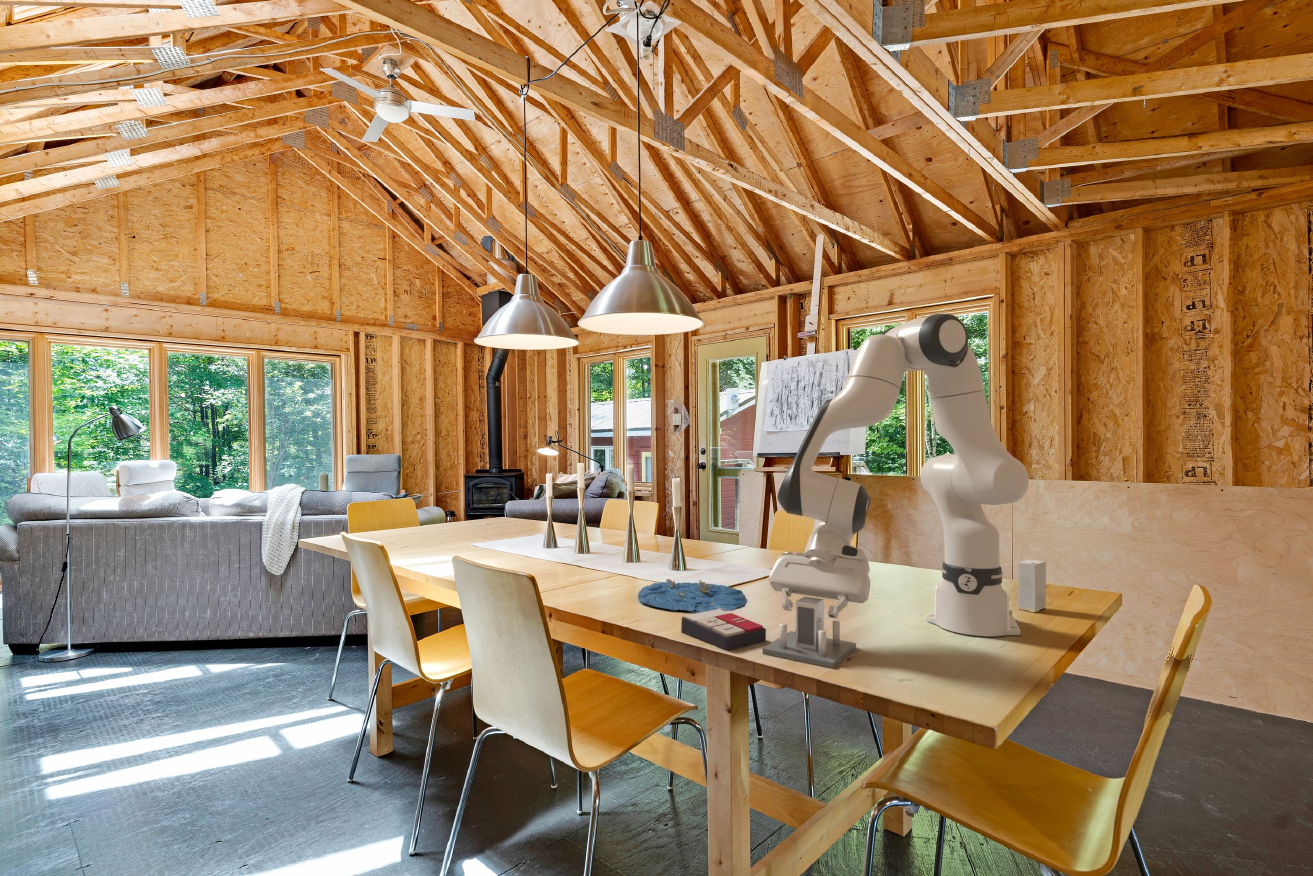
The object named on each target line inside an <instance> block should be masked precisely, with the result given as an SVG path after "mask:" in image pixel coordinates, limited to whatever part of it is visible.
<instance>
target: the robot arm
mask: <svg viewBox="0 0 1313 876" xmlns="http://www.w3.org/2000/svg"><path fill="white" fill-rule="evenodd" d="M915 371H916V372H917V371H923V372H924V374H925V375H926V377H927V379H928V391H929V398H930V405H931V411H932V416H933V421H934V422H933V423H934V428H935V430H936V432H937V434H938V435H939V436H940V437H941V438H943V439H944V440H946V441H947V443H948V444H949V445H950V446H951V448H952V451H954V453H945V454H941V455H937V456H935V457H934V456H933V457H930V458H928V459H927V460H926V461H925V462H924V464H923V465H922V467H921V470H920V483H921V486H922V488H923V489H924V491H925V492H926V493H928V495H929V496H930V497H931V499H932V500H933V502H934V504H935V507H936V509H937V512H938V514H939V517H940V520H941V521H940V522H941V524H942V525H941V526H942V528H943V529H942V530H943V531H942V532H943V547H944V548H943V552H944V560H943V561H942V567H941V573H942V574H941V575H942V578H943V579H942V581H941V582H940V583H939V584H937V585H935V591H934V612H933V613H931V614H929V615H927V616H926V621H927V622H929V623H930V624H933V625H936V626H938V627H940V628H942V629H944V630H947V631H950V632H954V633H958V634H962V635H967V636H968V635H970V636H977V637H1001V636H1020V635H1021V634H1022V633H1021V629H1020V627H1019V625H1018V622H1017V621H1016V619H1015V617H1014V615H1013V611H1012V609H1010V594H1008V593H1007V591H1006V590H1005V589H1004V588H1003V586H1002V583H1003V571H1002V570H1003V569H1002V566H1000V534H999V532H1000V531H999V530H998V529H997V527H996V526H995V525H994V524H993V523H992V522H991V521H990V520H989V519H988V518H987V516H986V514H985V512H984V510H983V506H982V505H989V506H998V505H1007V504H1013V503H1016V502H1018V501H1020V500H1022V498H1023V497H1024V496H1025V494H1026V493H1027V491H1028V489H1029V482H1030V481H1029V480H1030V479H1029V473H1028V470H1027V468H1026V467H1025V465H1024V464H1023V463H1022V462H1021V461H1020V460H1018V459H1017V458H1016V457H1014V456H1013V455H1012V454H1011V453H1010V452H1009V451H1008V450H1007V449H1006V448H1005V446H1004V445H1003V444H1002V441H1001V440H1000V438H999V437H998V435H997V433H996V432H995V429H994V427H993V424H992V420H991V417H990V412H989V407H988V402H987V396H986V391H985V385H984V380H983V376H982V373H981V369H980V365H979V363H978V360H977V357H976V355H975V353H974V351H973V349H971V348H970V347H969V336H968V331H967V329H966V326H965V325H964V323H963V322H962V320H961V319H960V318H959V317H958V316H956V315H954V314H952V313H951V314H950V313H935V314H931V315H929V316H922V317H918V318H914V319H911V320H908V321H906V322H904V323H902V324H899V325H897V326H892V327H890V328H888V329H886V330H884V331H883V332H881V333H880V334H873V335H870V336H868V337H866V338H865V339H864V340H863V341H862V342H861V344H860V346H859V348H858V350H857V352H856V354H855V355H854V358H853V360H852V363H851V366H850V368H849V371H848V373H847V374H848V375H847V377H846V381H845V384H844V386H843V387H842V388H841V390H840V391H839V393H838V394H836V396H835V397H833V398H829V399H826V400H825V401H824V403H822V405H821V406H820V408H819V410H818V411H817V413H816V415H815V417H814V418H813V420H812V423H811V424H810V426H809V428H808V430H807V432H806V435H805V436H804V437H803V440H802V442H801V444H800V446H799V449H798V450H797V452H796V454H795V456H794V458H793V461H792V462H791V464H790V465H789V468H788V469H787V470H786V472H785V474H784V475H783V477H782V478H781V480H780V481H779V482H780V483H779V485H778V489H777V497H776V499H777V501H778V503H779V505H780V507H781V508H782V509H783V510H784V511H785V512H786V513H787V514H788V515H789V514H790V515H794V516H799V517H807V518H810V519H812V520H814V522H813V530H812V532H811V533H810V534H809V537H808V539H807V543H806V547H805V549H804V552H792V551H785V552H784V553H781V554H778V556H777V557H776V560H775V563H774V565H773V567H772V569H771V572H770V573H769V575H768V581H769V584H770V586H771V587H772V589H773V591H775V592H780V593H782V596H783V601H782V606H781V607H782V609H783V611H789V612H792V610H793V607H794V603H793V600H792V599H790V598H791V597H792V595H793V594H795V595H801V596H806V597H813V598H820V599H828V600H836V601H837V602H836V603H835V604H834V605H829V607H828V610H827V615H828V617H829V618H832V619H838V618H839V614H840V612H841V611H842V610H844V609H845V608H846V607H847V606H848V604H849V602H850V603H856V604H864V603H865V602H867V601H868V600H869V596H870V591H871V590H870V589H871V579H870V575H869V574H870V570H871V569H870V564H869V561H868V558H867V556H866V553H865V552H864V550H862V549H860V548H858V547H855V546H853V545H851V542H852V540H853V538H855V537H854V536H855V534H857V533H859V532H860V531H861V530H862V529H864V527H865V524H866V523H865V522H866V516H867V513H868V511H869V507H870V504H871V497H870V495H869V493H868V492H867V490H866V488H865V487H864V486H863V485H862V484H860V483H857V482H854V481H851V480H847V479H843V478H838V477H834V476H830V475H828V474H827V475H826V474H824V473H820V472H816V471H814V470H813V466H814V464H815V461H816V460H817V458H818V455H819V453H820V452H821V450H822V448H823V445H824V444H825V441H826V439H827V438H828V437H829V436H831V435H832V434H833V433H836V432H838V431H843V430H847V429H856V428H858V429H859V428H866V427H870V426H873V425H877V424H879V423H881V422H883V421H885V420H886V419H887V418H888V417H890V415H891V414H892V413H893V410H894V408H895V406H896V404H897V401H898V397H899V396H900V391H901V388H902V384H903V378H904V375H905V373H906V372H915Z"/></svg>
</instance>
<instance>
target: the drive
mask: <svg viewBox="0 0 1313 876" xmlns="http://www.w3.org/2000/svg"><path fill="white" fill-rule="evenodd" d="M824 599H825V598H819V597H812V596H803V597H802V598H799V599H797V600H795V612H796V613H795V615H796V647H799V648H805V649H810V650H815V651H816V650H817V649H819V630H824V631H825V613H824V612H825V608H824V607H825V602H824V601H825V600H824Z"/></svg>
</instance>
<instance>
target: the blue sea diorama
mask: <svg viewBox="0 0 1313 876" xmlns="http://www.w3.org/2000/svg"><path fill="white" fill-rule="evenodd" d="M637 598H638V599H637V600H639V602H641V603H642V604H644V605H647V606H651V607H654V608H660V609H664V610H670V611H678V610H681V611H687V612H689V613H691V614H695V613H701V612H706V611H711V610H716V609H721V610H723V611H726V612H732V611H734V610H735V609H737V608H738V607H739V608H740V607H742V606H745V605H746V602H747V600H748V599H747V598H746V597H744V592H743V591H742V590H741V589H736V588H734V587H729V586H726V585H722V584H720V585H718V584H714V583H708V582H707V583H706V582H705V581H702V580H700V579H699V580H698V582H675V580H672V579H671V578H670V579H669V578H666V580H665V581H662V582H661V581H660V582H653V583H652V584H650V585H646V586H643V587H642V588H641V589H640V590H639V591H638V594H637Z"/></svg>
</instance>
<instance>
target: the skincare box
mask: <svg viewBox="0 0 1313 876" xmlns="http://www.w3.org/2000/svg"><path fill="white" fill-rule="evenodd" d="M1017 575H1018V576H1017V577H1018V578H1017V579H1018V580H1017V581H1018V582H1017V609H1018V608H1022V609H1028V610H1034V611H1037V610H1039V609H1042V608H1045V607H1046V603H1047V602H1046V601H1047V600H1046V599H1047V597H1046V593H1047V590H1046V589H1047V587H1046V586H1047V585H1046V584H1047V581H1046V580H1047V578H1046V577H1047V562H1046V561H1044V560H1037V559H1026V560H1022V561H1019V562H1018V574H1017ZM1045 609H1046V608H1045Z"/></svg>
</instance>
